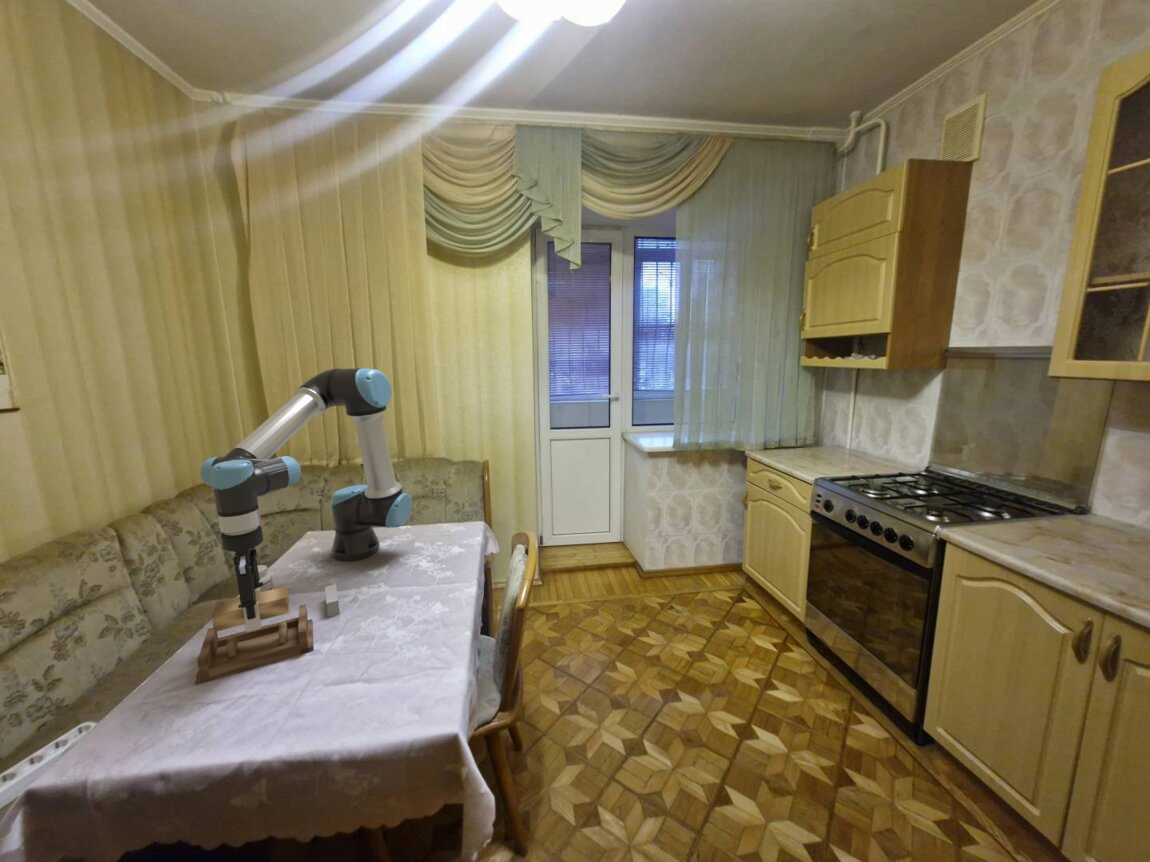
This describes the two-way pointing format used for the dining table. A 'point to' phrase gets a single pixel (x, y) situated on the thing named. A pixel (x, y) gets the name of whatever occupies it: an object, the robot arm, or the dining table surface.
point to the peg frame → (254, 647)
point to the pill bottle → (265, 578)
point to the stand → (332, 600)
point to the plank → (268, 605)
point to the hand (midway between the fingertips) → (255, 621)
